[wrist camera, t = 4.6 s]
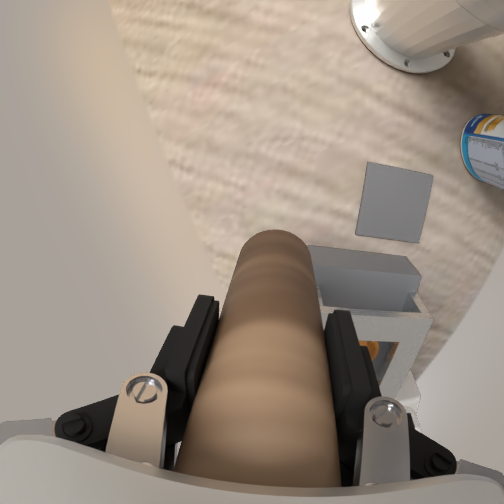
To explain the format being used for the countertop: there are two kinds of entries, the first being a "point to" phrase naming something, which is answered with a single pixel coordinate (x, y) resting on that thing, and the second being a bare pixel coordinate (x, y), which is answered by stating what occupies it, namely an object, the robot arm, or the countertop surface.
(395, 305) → the box
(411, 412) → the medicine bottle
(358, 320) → the frame
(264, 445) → the brown rod
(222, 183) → the countertop surface
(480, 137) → the beverage bottle
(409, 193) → the pad
